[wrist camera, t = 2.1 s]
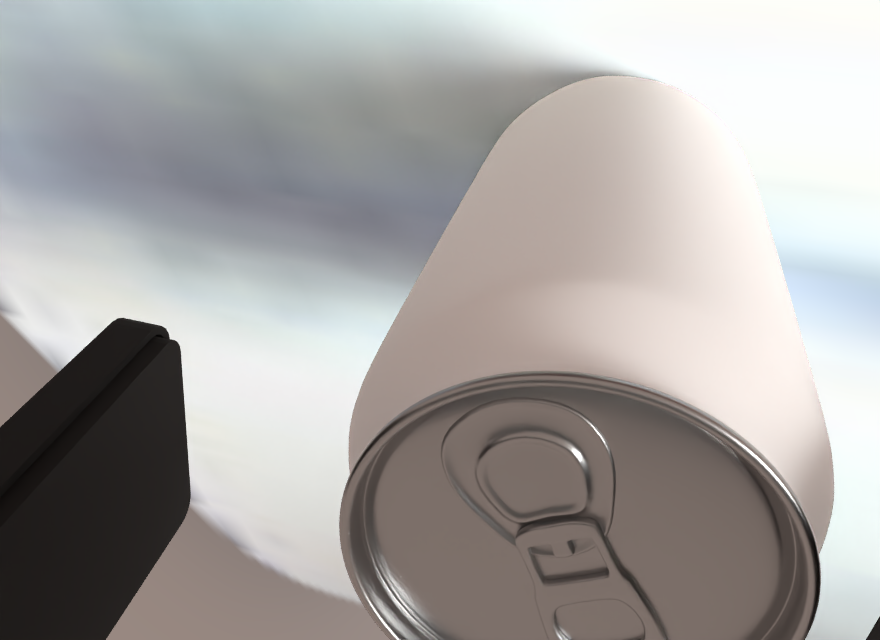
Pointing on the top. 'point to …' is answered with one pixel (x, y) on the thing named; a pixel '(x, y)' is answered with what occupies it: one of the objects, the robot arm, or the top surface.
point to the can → (595, 397)
